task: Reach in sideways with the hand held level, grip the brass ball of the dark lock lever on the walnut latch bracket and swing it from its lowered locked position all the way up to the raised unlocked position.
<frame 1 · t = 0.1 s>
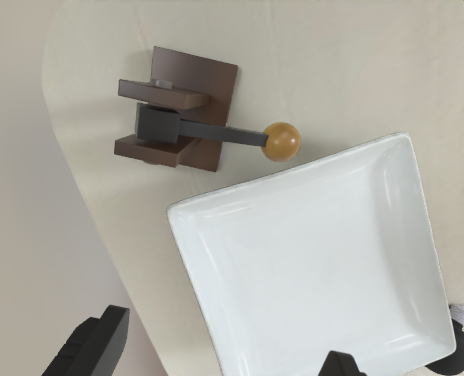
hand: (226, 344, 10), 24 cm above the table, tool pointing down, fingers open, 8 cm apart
lock lever: (227, 134, 22), point 10 cm above the table, hinge at -25.0°
latch bracket: (189, 113, 31), on the table
square plate: (310, 273, 32), point 4 cm above the table
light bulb: (427, 321, 39), on the table
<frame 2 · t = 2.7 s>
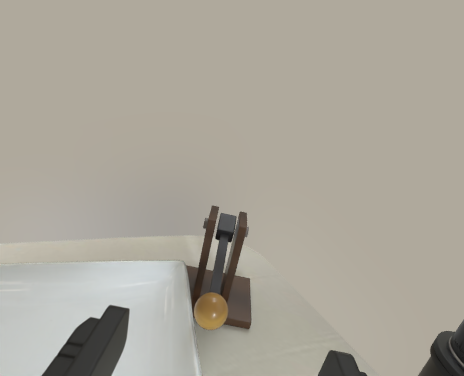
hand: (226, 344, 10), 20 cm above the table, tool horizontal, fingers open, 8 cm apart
lock lever: (219, 265, 32), point 10 cm above the table, hinge at -25.0°
latch bracket: (210, 296, 40), on the table
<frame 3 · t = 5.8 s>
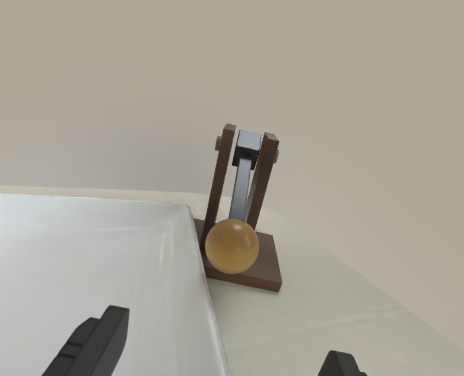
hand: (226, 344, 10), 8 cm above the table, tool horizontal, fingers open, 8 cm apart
lock lever: (240, 190, 21), point 10 cm above the table, hinge at -25.0°
latch bracket: (222, 253, 29), on the table
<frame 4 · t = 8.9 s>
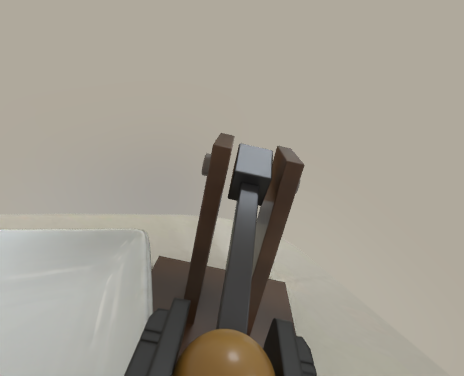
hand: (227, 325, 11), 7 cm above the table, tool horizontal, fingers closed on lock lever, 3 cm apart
lock lever: (240, 252, 13), point 10 cm above the table, hinge at -25.0°, touching gripper
latch bracket: (214, 317, 21), on the table
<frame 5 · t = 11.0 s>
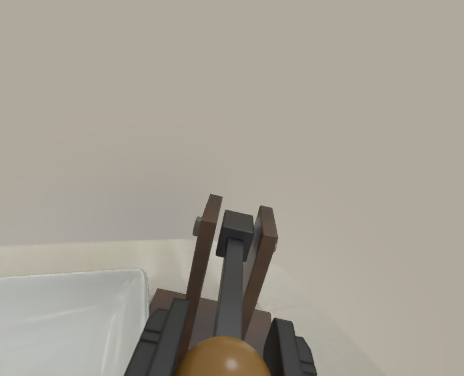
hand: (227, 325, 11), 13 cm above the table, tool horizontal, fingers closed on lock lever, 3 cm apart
lock lever: (230, 288, 14), point 12 cm above the table, hinge at 1.7°, touching gripper
latch bracket: (205, 348, 23), on the table
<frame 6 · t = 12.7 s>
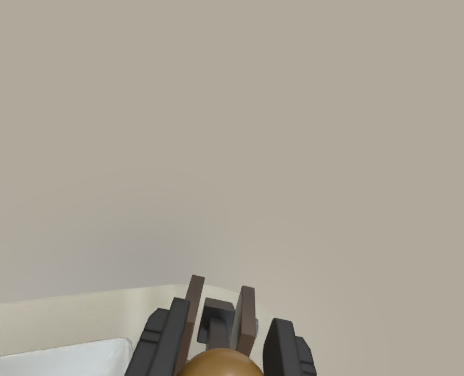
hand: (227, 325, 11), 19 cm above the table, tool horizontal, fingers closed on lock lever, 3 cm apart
lock lever: (217, 350, 14), point 15 cm above the table, hinge at 33.6°, touching gripper
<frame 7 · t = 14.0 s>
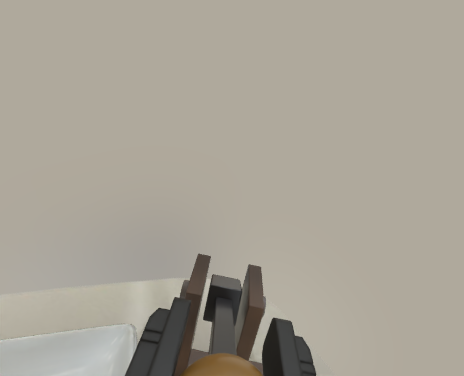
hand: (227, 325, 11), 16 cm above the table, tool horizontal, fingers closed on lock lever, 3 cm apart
lock lever: (222, 337, 13), point 14 cm above the table, hinge at 22.9°, touching gripper
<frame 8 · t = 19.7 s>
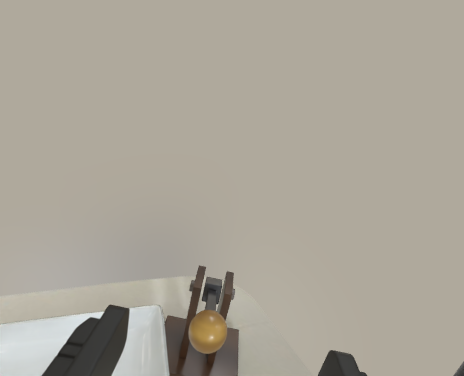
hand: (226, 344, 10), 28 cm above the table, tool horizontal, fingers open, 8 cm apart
lock lever: (210, 307, 30), point 14 cm above the table, hinge at 22.2°
latch bracket: (197, 352, 40), on the table
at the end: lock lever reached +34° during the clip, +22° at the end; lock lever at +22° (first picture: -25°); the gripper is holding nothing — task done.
